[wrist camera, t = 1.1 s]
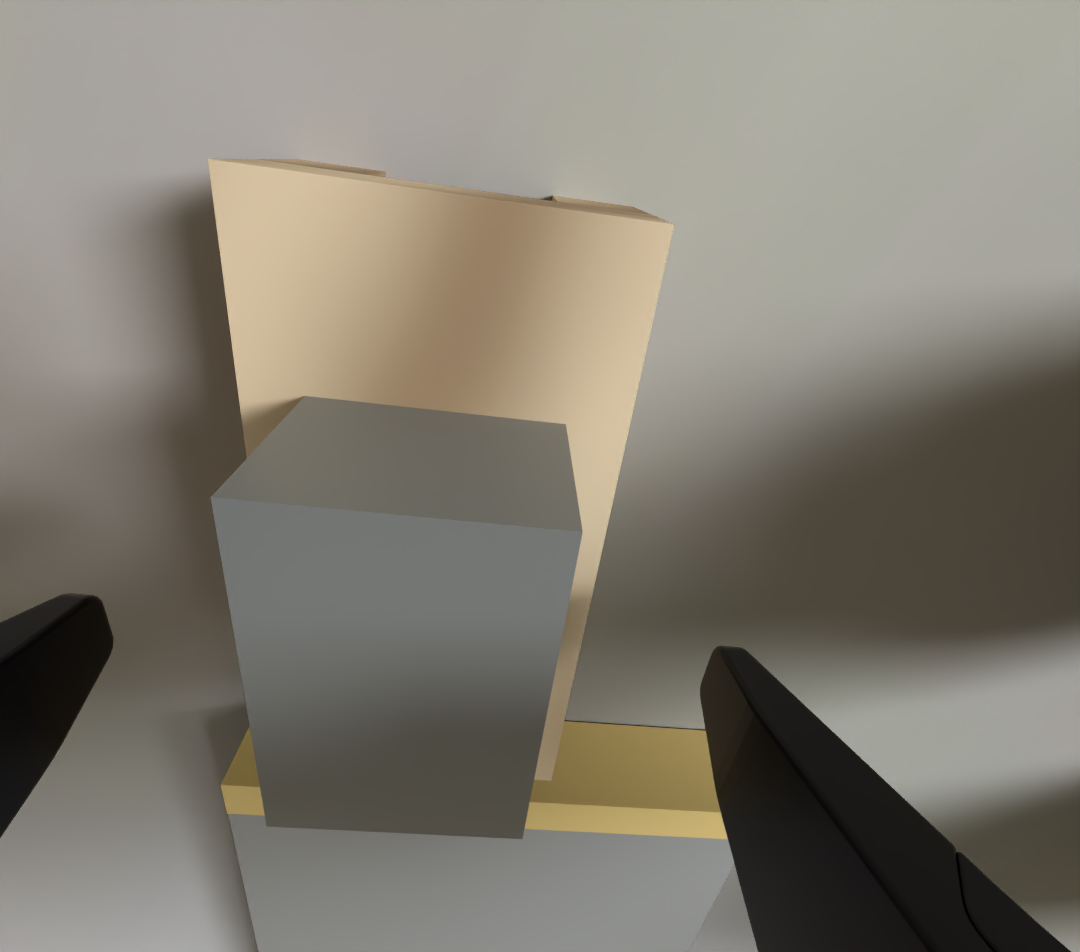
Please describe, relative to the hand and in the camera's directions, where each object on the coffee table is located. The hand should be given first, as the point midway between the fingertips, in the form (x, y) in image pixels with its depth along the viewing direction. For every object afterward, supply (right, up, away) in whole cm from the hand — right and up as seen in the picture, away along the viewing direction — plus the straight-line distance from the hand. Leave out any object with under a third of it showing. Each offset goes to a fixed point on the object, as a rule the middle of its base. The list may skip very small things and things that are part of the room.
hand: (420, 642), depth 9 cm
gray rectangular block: (0, +1, +2) cm, 2 cm away
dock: (0, -13, +13) cm, 18 cm away
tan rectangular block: (0, +3, +5) cm, 5 cm away
